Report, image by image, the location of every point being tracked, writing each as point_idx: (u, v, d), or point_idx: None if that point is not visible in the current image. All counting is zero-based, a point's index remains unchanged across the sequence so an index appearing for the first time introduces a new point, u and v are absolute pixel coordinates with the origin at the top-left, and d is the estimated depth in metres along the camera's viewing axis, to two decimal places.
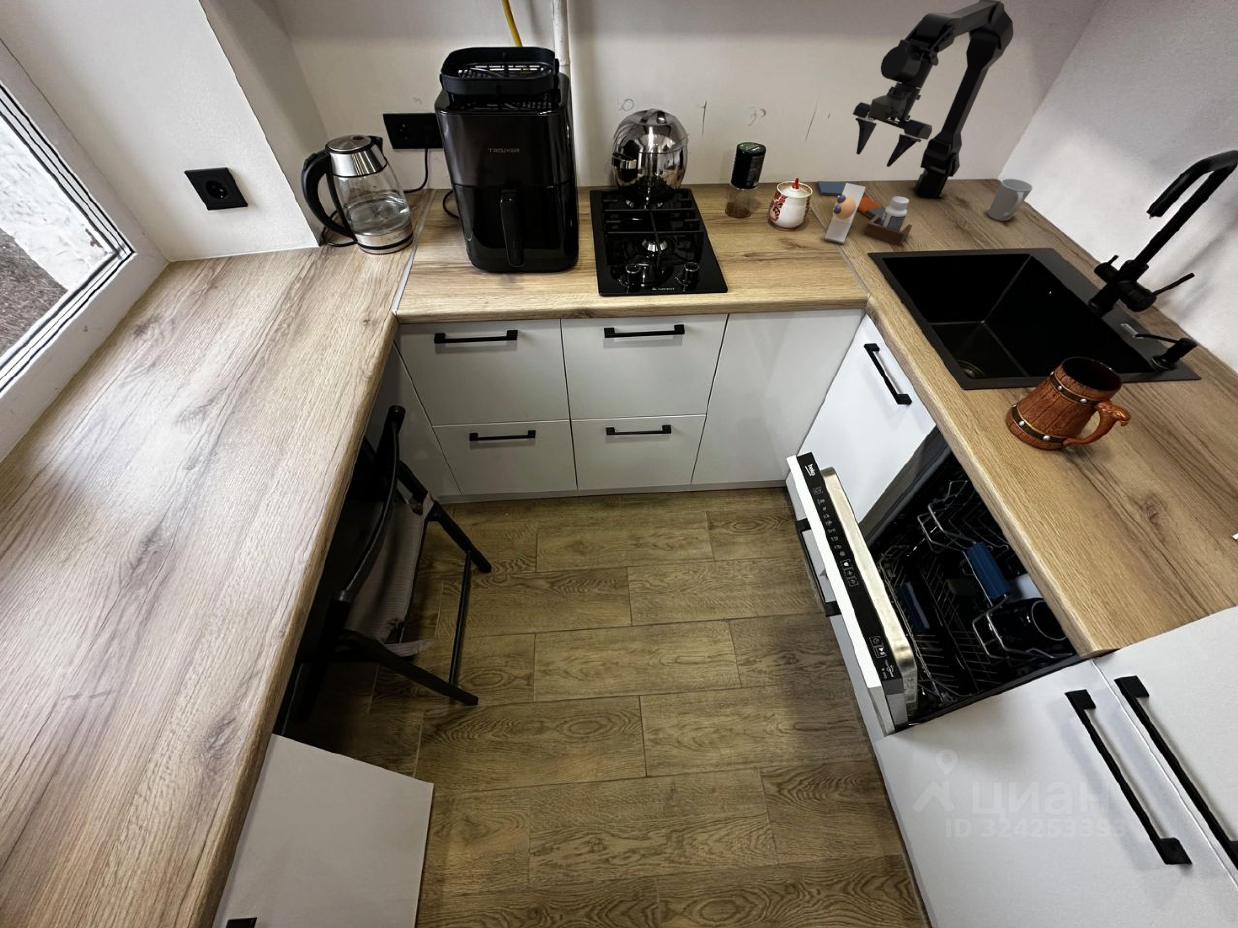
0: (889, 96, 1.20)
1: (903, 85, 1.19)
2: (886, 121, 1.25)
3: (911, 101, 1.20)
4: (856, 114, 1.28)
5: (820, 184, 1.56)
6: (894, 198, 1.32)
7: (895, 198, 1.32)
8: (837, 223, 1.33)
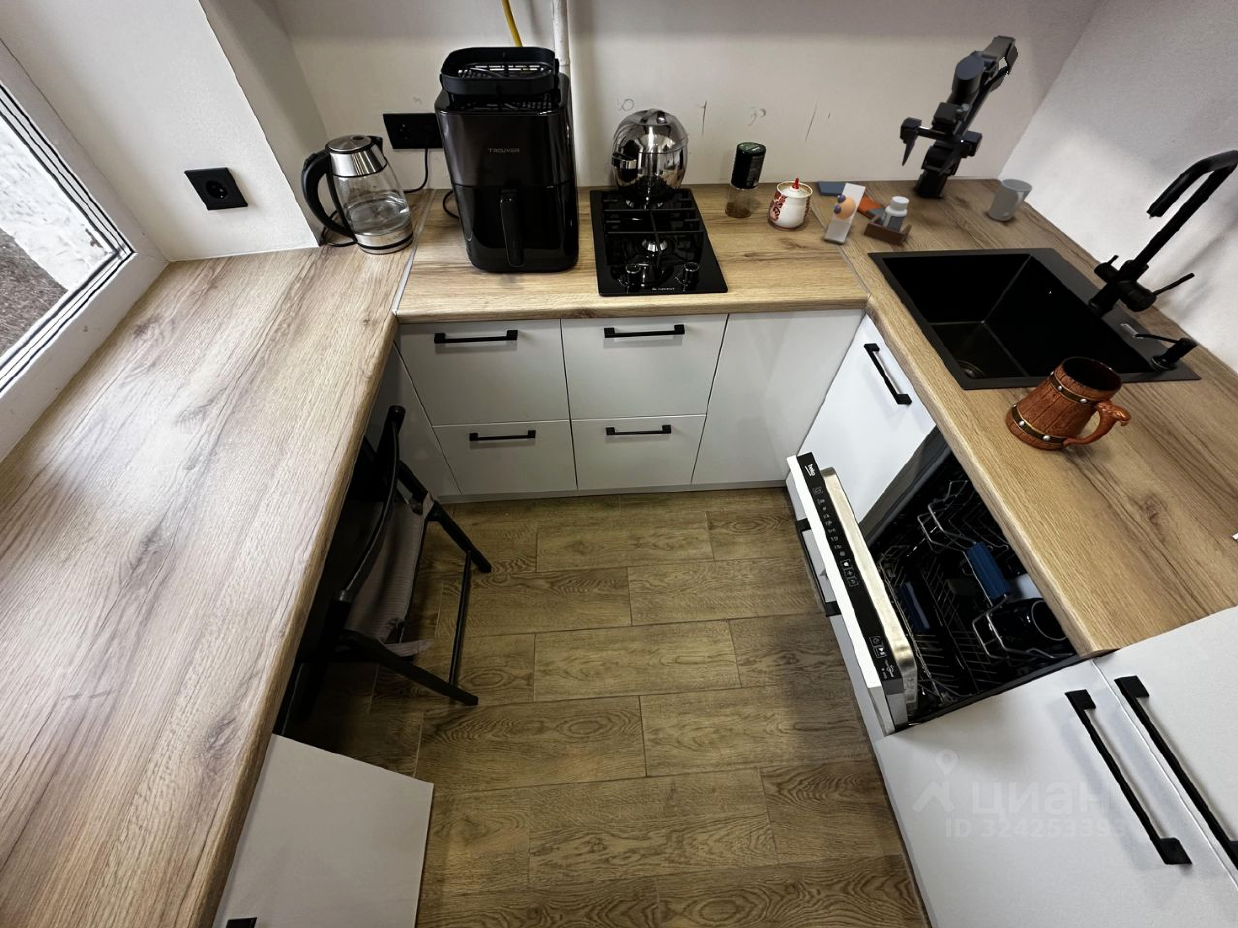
0: None
1: (958, 102, 1.27)
2: (934, 136, 1.31)
3: None
4: (907, 125, 1.31)
5: (820, 184, 1.56)
6: (894, 198, 1.32)
7: (895, 198, 1.32)
8: (837, 223, 1.33)
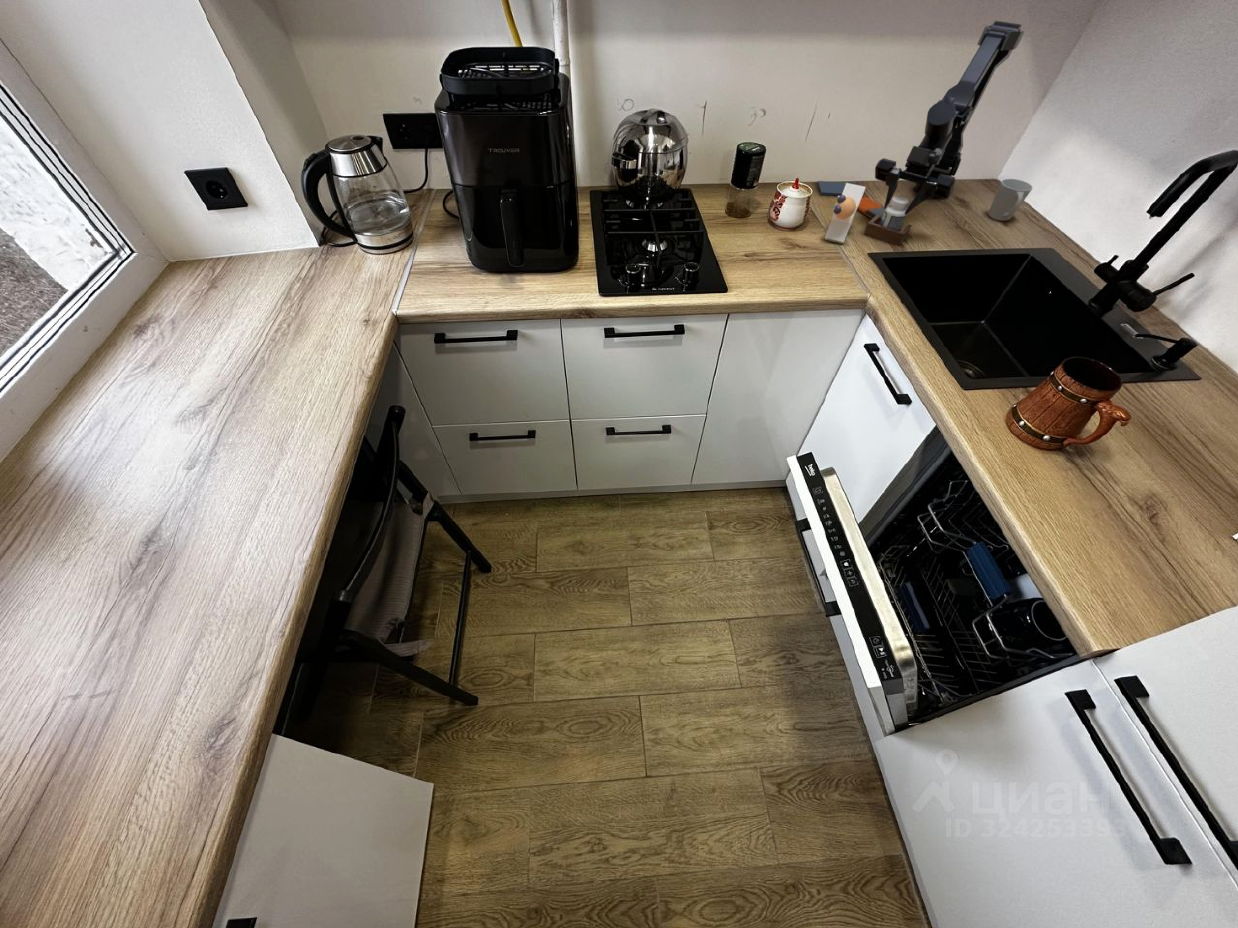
0: None
1: (931, 145, 1.27)
2: (909, 177, 1.31)
3: None
4: (881, 166, 1.31)
5: (820, 184, 1.56)
6: (894, 198, 1.32)
7: (895, 198, 1.32)
8: (837, 223, 1.33)
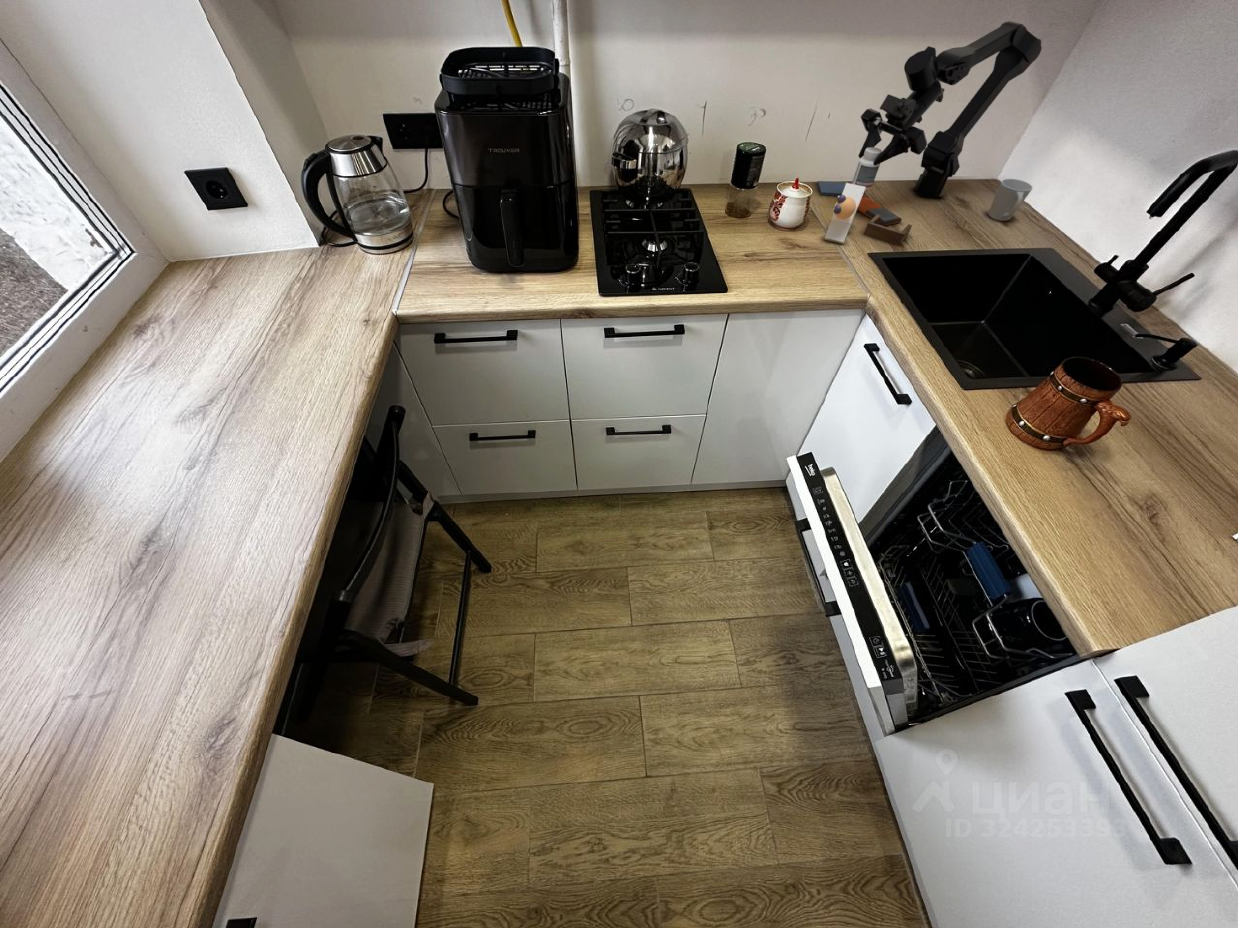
0: None
1: (914, 98, 1.28)
2: (888, 129, 1.33)
3: (916, 116, 1.29)
4: (864, 116, 1.35)
5: (820, 184, 1.56)
6: (868, 148, 1.35)
7: (869, 148, 1.35)
8: (837, 223, 1.33)
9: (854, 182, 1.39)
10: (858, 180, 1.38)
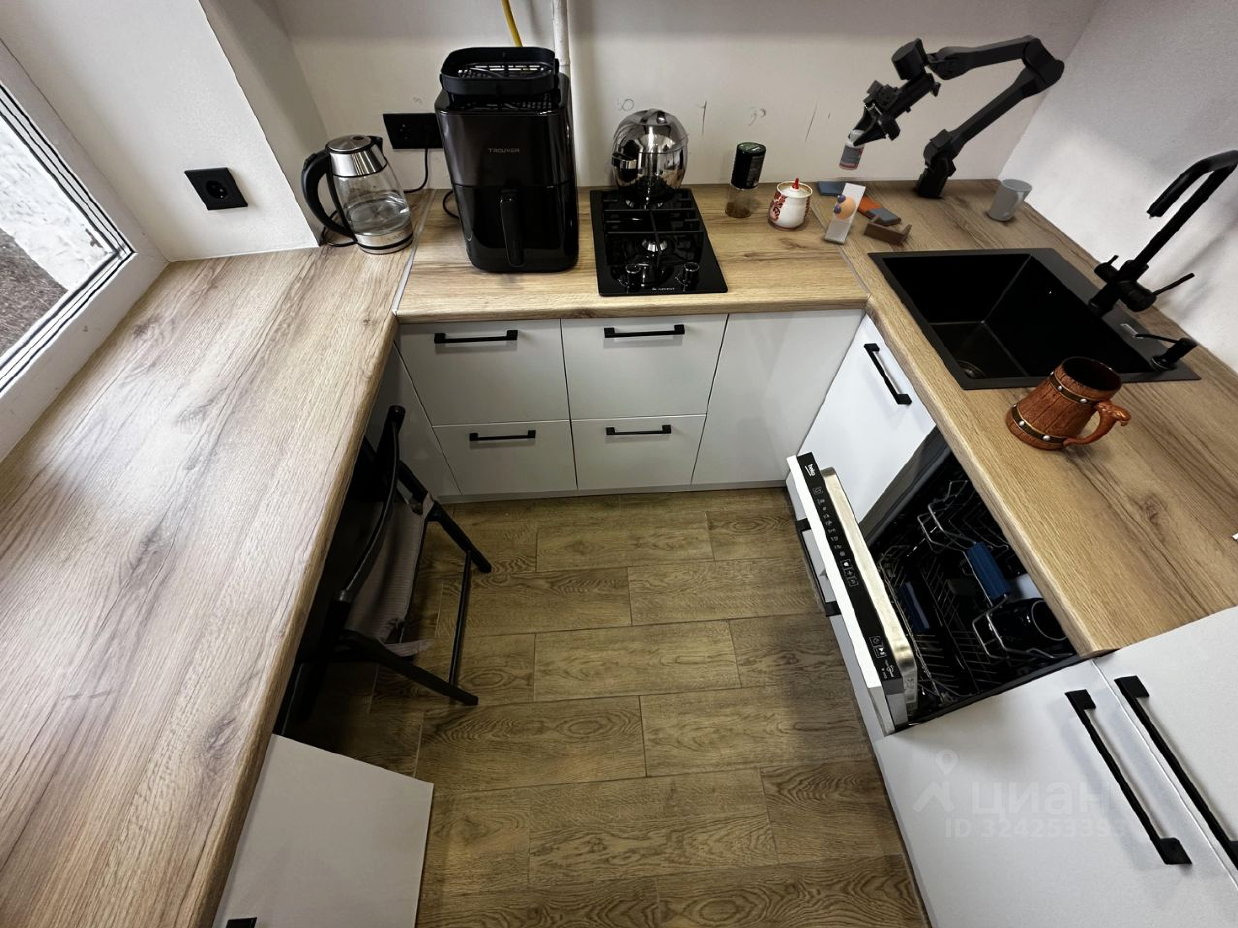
0: None
1: (903, 87, 1.35)
2: (878, 115, 1.41)
3: (901, 104, 1.36)
4: (864, 100, 1.45)
5: (820, 184, 1.56)
6: (855, 130, 1.44)
7: (857, 130, 1.44)
8: (837, 223, 1.33)
9: (840, 161, 1.50)
10: (841, 159, 1.48)
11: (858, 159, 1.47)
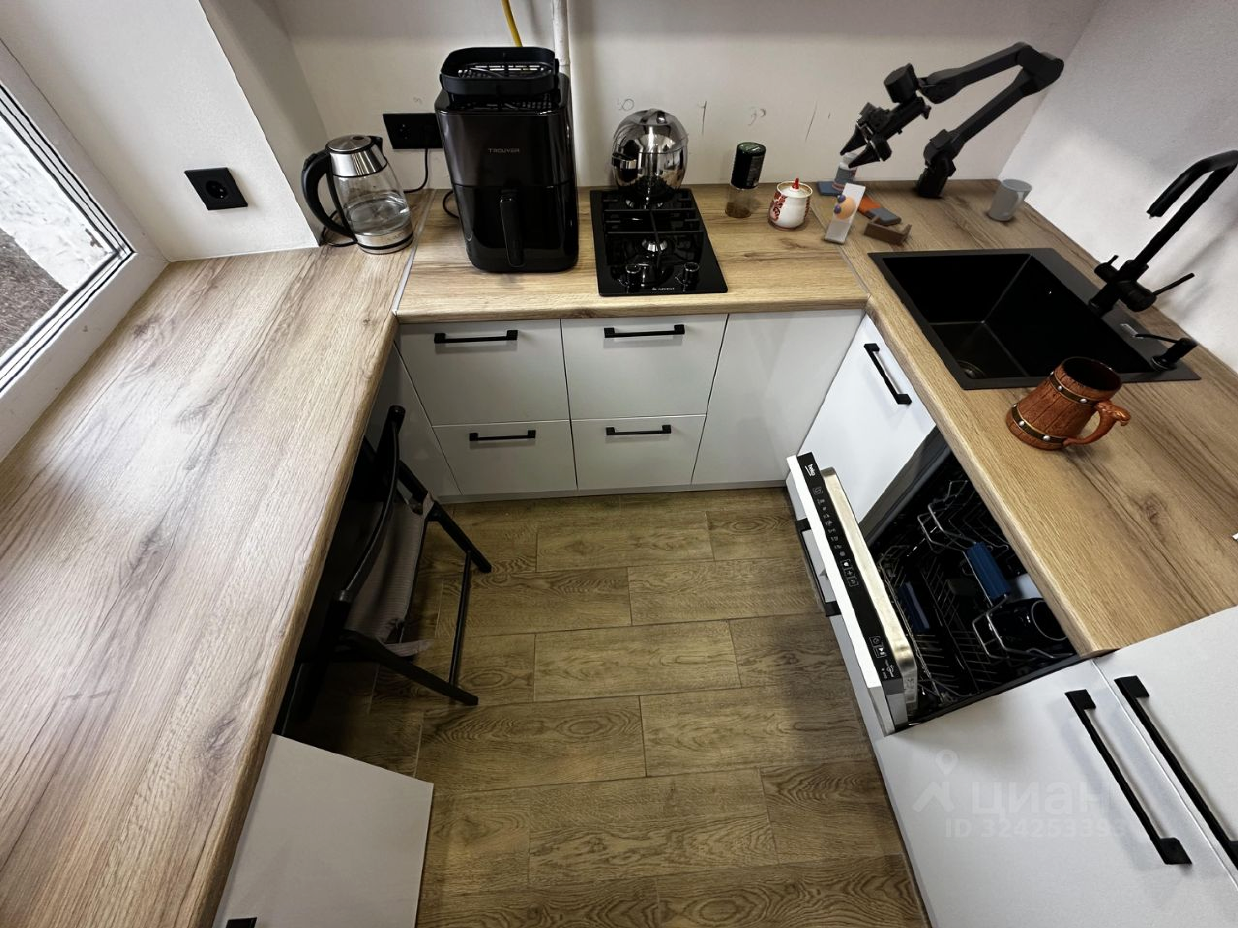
0: None
1: (894, 109, 1.39)
2: (870, 136, 1.45)
3: (892, 126, 1.40)
4: (857, 121, 1.48)
5: (820, 184, 1.56)
6: (849, 153, 1.49)
7: (850, 153, 1.49)
8: (837, 223, 1.33)
9: (833, 182, 1.54)
10: (835, 181, 1.53)
11: (851, 180, 1.51)
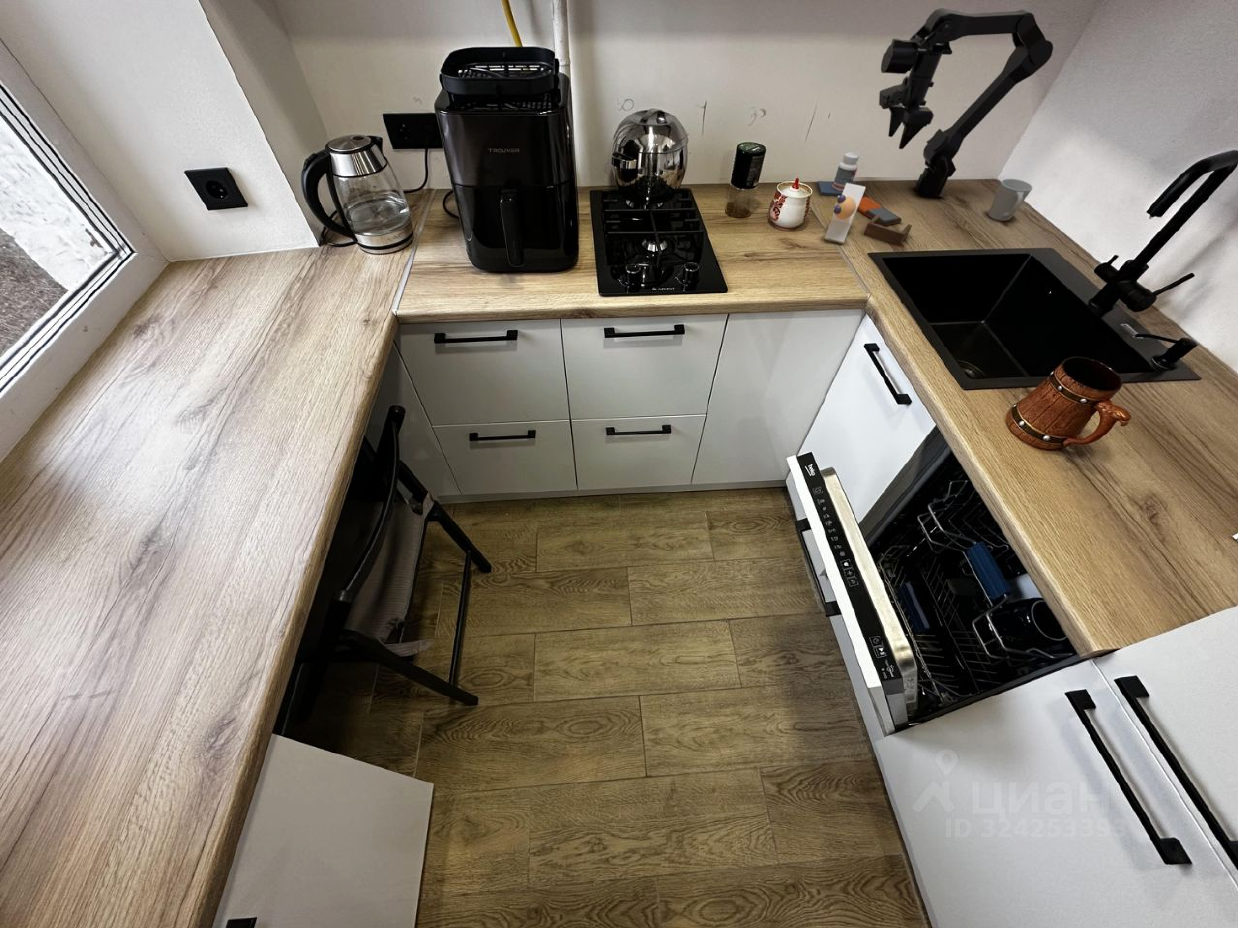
0: (899, 86, 1.36)
1: (910, 75, 1.34)
2: None
3: (918, 89, 1.34)
4: None
5: (820, 184, 1.56)
6: (849, 153, 1.49)
7: (850, 153, 1.49)
8: (837, 223, 1.33)
9: (833, 182, 1.54)
10: (835, 181, 1.53)
11: (851, 180, 1.51)
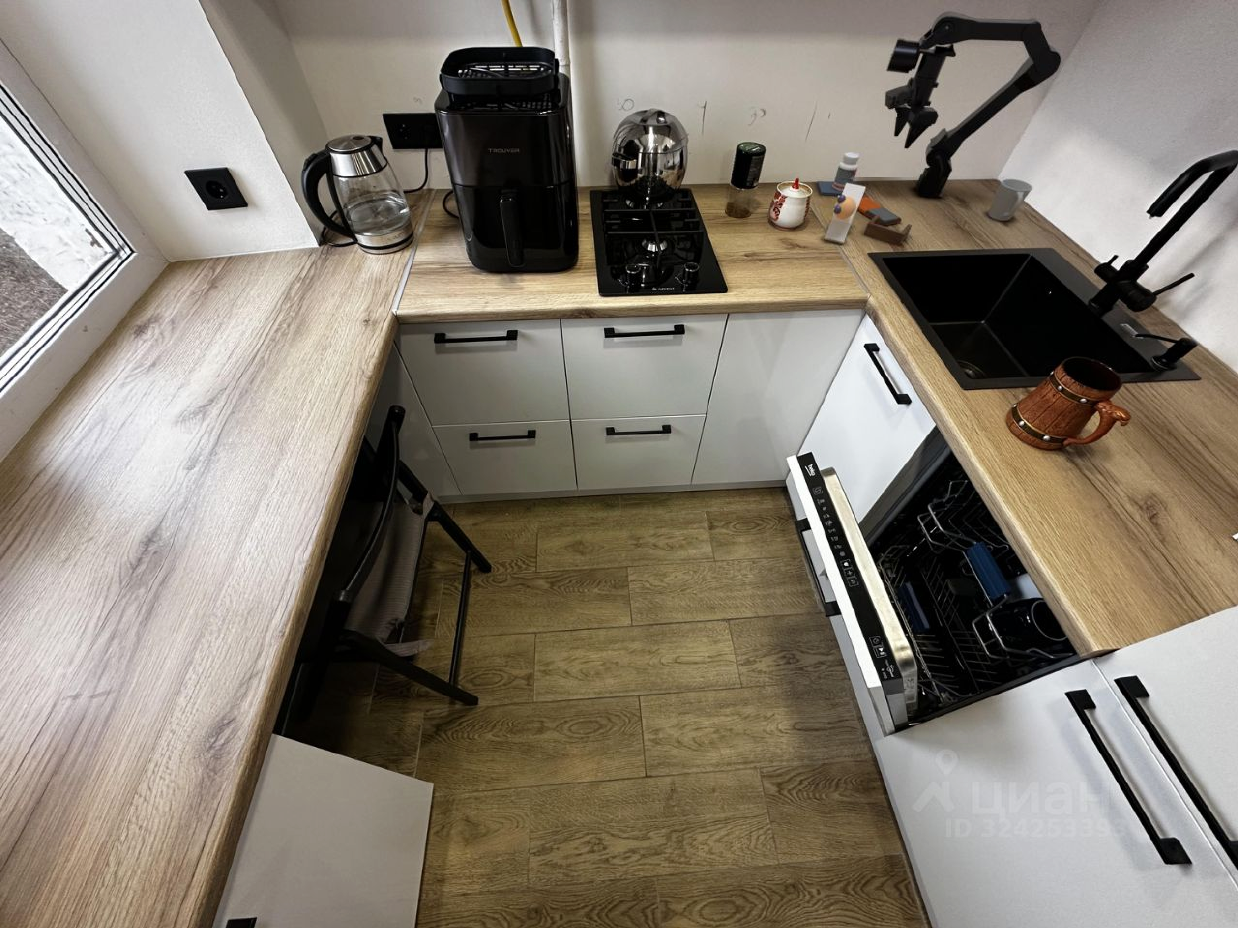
0: (904, 87, 1.39)
1: (915, 77, 1.37)
2: (911, 107, 1.43)
3: (923, 90, 1.37)
4: None
5: (820, 184, 1.56)
6: (849, 153, 1.49)
7: (850, 153, 1.49)
8: (837, 223, 1.33)
9: (833, 182, 1.54)
10: (835, 181, 1.53)
11: (851, 180, 1.51)
